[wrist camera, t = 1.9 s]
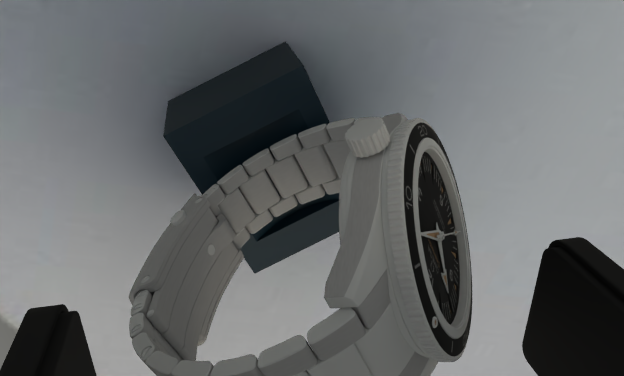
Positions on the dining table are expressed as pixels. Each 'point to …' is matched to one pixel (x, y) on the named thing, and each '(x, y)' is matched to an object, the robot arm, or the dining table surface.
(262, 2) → the dining table surface
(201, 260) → the watch
